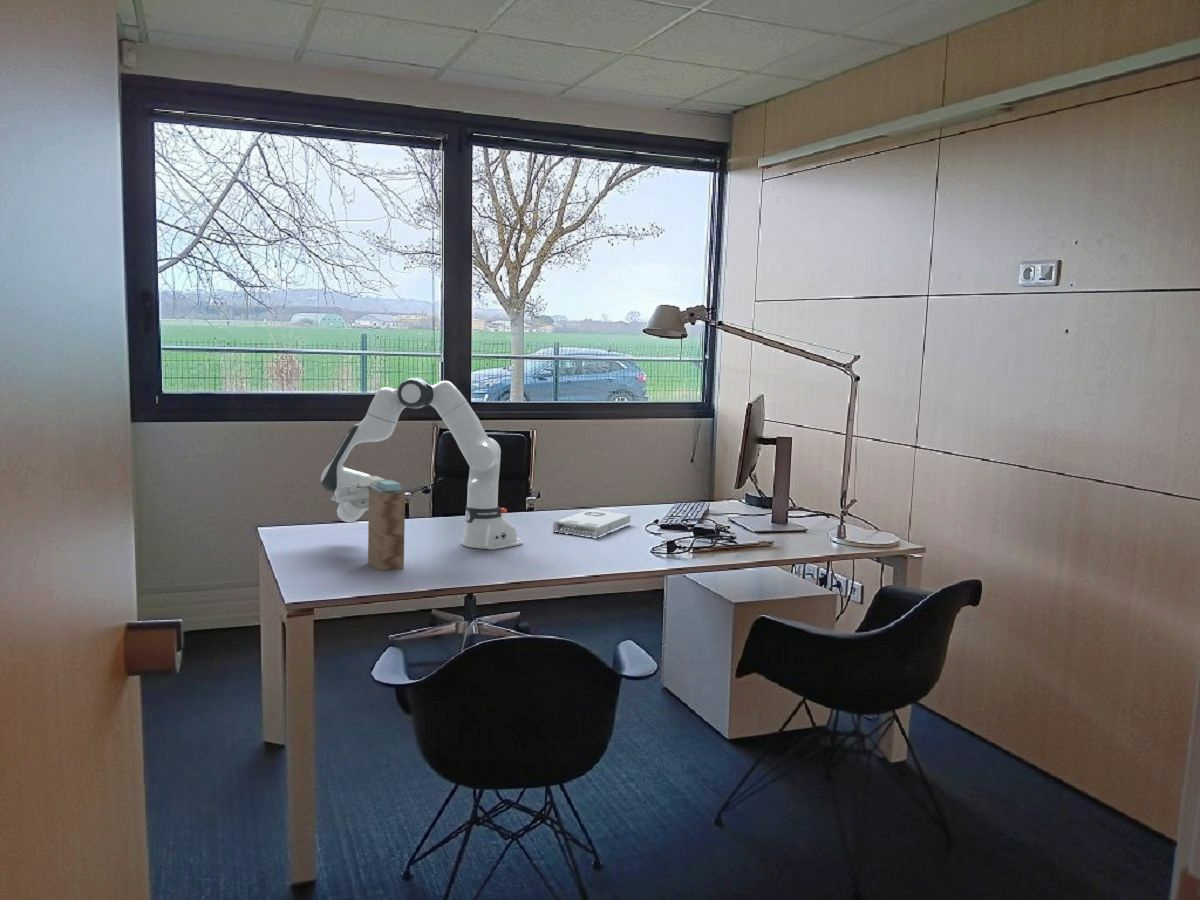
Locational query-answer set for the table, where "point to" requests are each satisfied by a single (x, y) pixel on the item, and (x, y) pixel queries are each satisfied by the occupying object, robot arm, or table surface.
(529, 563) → the table surface
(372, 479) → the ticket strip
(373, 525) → the walnut stand
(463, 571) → the table surface
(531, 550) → the table surface
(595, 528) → the power supply unit
